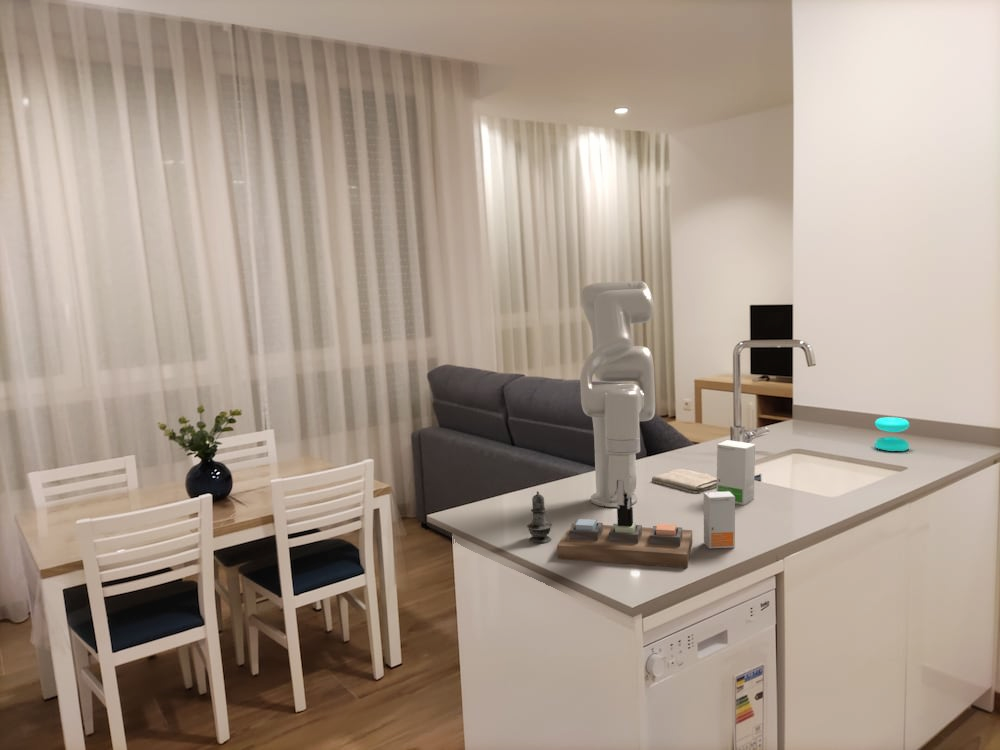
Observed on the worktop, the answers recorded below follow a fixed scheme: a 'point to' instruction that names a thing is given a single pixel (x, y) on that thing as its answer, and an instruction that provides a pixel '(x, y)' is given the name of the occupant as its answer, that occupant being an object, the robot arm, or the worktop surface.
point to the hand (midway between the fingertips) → (625, 524)
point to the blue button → (586, 525)
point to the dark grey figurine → (539, 522)
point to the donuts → (892, 426)
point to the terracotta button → (666, 529)
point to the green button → (626, 528)
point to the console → (626, 546)
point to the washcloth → (687, 480)
